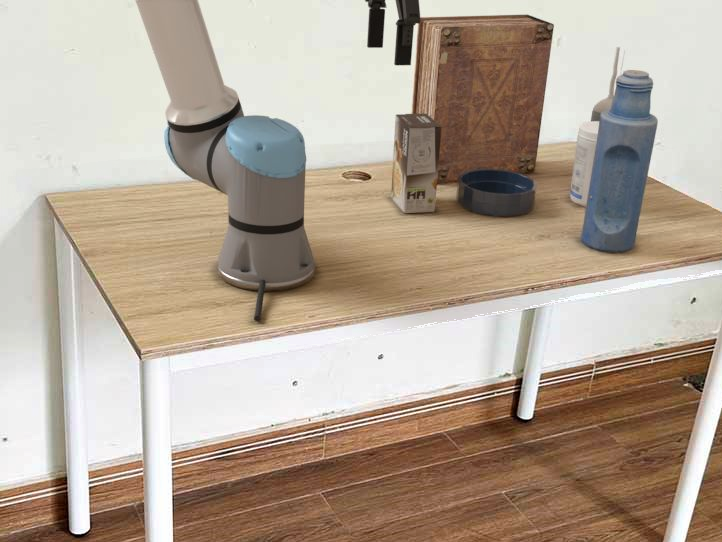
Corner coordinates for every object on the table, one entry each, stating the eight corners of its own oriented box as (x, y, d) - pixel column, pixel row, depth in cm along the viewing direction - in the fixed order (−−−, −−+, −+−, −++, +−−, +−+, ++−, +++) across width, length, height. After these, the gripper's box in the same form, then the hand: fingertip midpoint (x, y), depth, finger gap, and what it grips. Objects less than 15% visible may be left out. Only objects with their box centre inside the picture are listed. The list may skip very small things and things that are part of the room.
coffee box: (436, 212, 197) (443, 126, 189) (403, 214, 195) (409, 127, 187) (420, 195, 204) (426, 112, 196) (389, 197, 202) (394, 113, 194)
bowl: (547, 214, 199) (550, 191, 197) (476, 220, 194) (479, 197, 192) (511, 188, 211) (514, 166, 209) (444, 193, 206) (446, 171, 204)
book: (428, 184, 210) (440, 27, 195) (407, 169, 217) (417, 17, 202) (535, 172, 221) (554, 23, 206) (511, 159, 228) (529, 13, 213)
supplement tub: (622, 199, 210) (635, 125, 202) (611, 213, 202) (624, 137, 195) (575, 190, 213) (586, 117, 205) (562, 204, 205) (573, 128, 198)
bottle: (636, 238, 192) (668, 69, 177) (632, 257, 183) (664, 82, 168) (583, 230, 193) (610, 62, 178) (577, 248, 185) (604, 74, 170)
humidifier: (597, 159, 232) (616, 41, 219) (626, 169, 227) (647, 49, 214) (572, 165, 227) (590, 45, 215) (601, 175, 222) (621, 53, 209)
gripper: (448, -67, 165) (436, 72, 175) (391, -86, 185) (383, 40, 195) (403, -69, 162) (393, 73, 172) (350, -88, 182) (344, 40, 192)
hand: (388, 56), depth 184 cm, fingers open, 13 cm apart
